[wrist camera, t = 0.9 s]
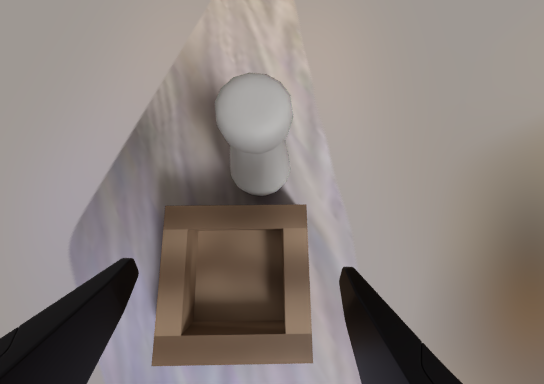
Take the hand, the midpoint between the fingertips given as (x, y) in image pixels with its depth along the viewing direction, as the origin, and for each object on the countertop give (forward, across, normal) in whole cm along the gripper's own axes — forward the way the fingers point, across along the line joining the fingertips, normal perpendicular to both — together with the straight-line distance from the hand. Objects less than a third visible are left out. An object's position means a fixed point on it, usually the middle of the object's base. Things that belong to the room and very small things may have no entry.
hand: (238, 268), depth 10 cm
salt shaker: (+15, 0, +3) cm, 15 cm away
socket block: (+8, +1, +10) cm, 13 cm away
